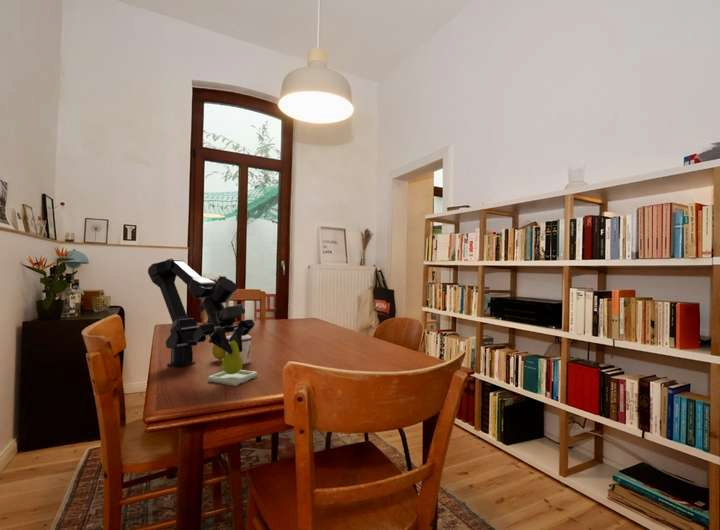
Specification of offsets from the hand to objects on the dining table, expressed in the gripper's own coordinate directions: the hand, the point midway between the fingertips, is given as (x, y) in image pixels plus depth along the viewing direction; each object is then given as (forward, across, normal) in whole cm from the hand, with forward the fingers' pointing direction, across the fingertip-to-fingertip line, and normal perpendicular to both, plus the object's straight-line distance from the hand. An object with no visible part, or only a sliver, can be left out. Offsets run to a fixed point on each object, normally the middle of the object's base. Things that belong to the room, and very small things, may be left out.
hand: (236, 352), depth 112 cm
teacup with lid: (-7, +14, +19) cm, 25 cm away
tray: (+5, 0, +7) cm, 8 cm away
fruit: (+4, 0, +6) cm, 7 cm away
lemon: (-10, +11, +23) cm, 27 cm away
